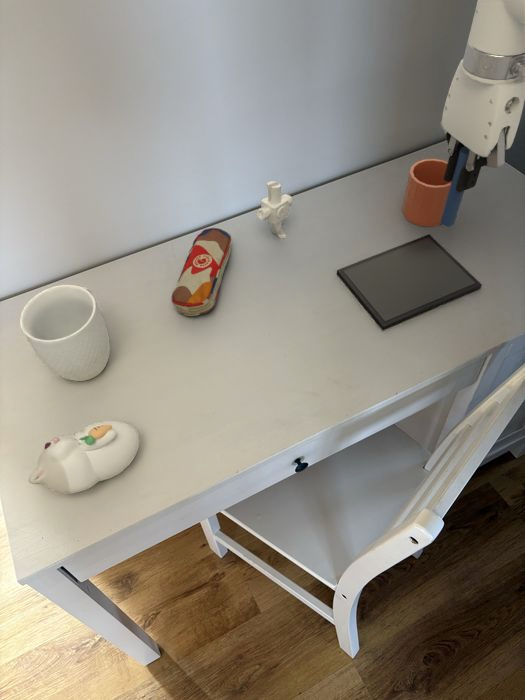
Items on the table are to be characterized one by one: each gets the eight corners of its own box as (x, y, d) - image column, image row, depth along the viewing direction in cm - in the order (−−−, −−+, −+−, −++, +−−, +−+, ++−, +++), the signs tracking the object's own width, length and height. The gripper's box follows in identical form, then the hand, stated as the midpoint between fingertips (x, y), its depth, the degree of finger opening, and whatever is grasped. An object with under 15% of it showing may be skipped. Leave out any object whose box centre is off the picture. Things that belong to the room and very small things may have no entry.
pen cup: (430, 193, 109) (439, 153, 102) (457, 217, 104) (469, 178, 97) (393, 206, 107) (400, 167, 100) (419, 232, 102) (429, 192, 95)
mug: (69, 320, 93) (40, 265, 83) (131, 321, 92) (110, 266, 82) (43, 392, 84) (7, 341, 74) (111, 394, 83) (84, 342, 73)
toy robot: (254, 241, 103) (250, 188, 94) (282, 221, 106) (281, 169, 97) (268, 250, 101) (265, 198, 92) (297, 230, 104) (297, 178, 95)
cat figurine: (129, 403, 71) (13, 452, 66) (154, 458, 71) (39, 513, 65) (124, 410, 80) (22, 454, 74) (146, 460, 79) (44, 508, 74)
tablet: (428, 238, 101) (429, 233, 100) (480, 288, 93) (482, 284, 92) (336, 273, 97) (336, 269, 96) (382, 330, 88) (383, 326, 87)
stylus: (448, 216, 88) (469, 144, 77) (457, 223, 87) (479, 152, 76) (437, 220, 87) (457, 148, 77) (446, 228, 86) (467, 156, 76)
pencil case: (152, 307, 94) (145, 288, 90) (205, 238, 104) (201, 217, 100) (207, 326, 91) (203, 306, 87) (256, 252, 101) (254, 232, 97)
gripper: (567, 77, 63) (515, 205, 77) (477, 26, 72) (446, 150, 86) (516, 94, 61) (473, 221, 76) (431, 40, 70) (407, 163, 85)
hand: (459, 182), depth 81 cm, fingers closed on stylus, 2 cm apart
